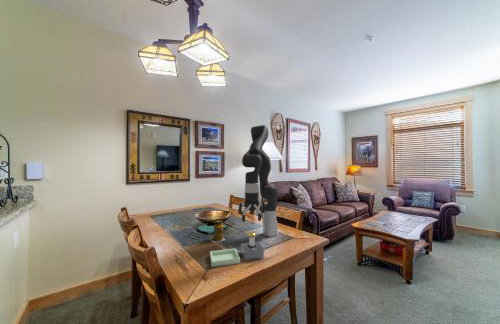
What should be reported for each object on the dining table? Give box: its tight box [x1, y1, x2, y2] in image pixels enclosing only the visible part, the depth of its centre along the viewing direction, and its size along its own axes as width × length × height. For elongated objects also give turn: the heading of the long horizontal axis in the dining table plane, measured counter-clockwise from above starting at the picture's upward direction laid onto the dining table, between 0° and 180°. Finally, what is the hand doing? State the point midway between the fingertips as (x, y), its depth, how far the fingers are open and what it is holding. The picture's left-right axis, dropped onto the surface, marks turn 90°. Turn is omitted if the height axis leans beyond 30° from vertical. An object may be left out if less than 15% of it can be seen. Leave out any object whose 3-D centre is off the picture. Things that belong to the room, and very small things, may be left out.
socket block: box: [240, 241, 265, 262], centre depth 112 cm, size 10×10×5 cm
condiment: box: [209, 219, 226, 244], centre depth 134 cm, size 7×8×12 cm
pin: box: [247, 231, 257, 248], centre depth 112 cm, size 4×4×12 cm
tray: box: [209, 248, 241, 268], centre depth 107 cm, size 14×12×2 cm
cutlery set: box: [184, 223, 226, 240], centre depth 150 cm, size 20×30×2 cm, turn 141°
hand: (251, 221), depth 111 cm, fingers open, 8 cm apart
